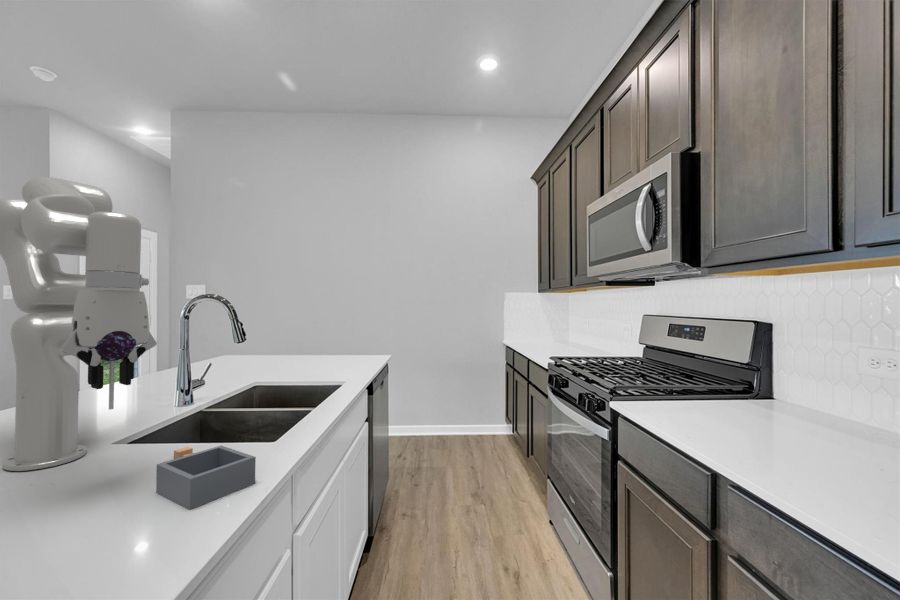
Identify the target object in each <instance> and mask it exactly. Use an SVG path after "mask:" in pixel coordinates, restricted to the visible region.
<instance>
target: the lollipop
mask: <svg viewBox="0 0 900 600" xmlns="http://www.w3.org/2000/svg"><path fill="white" fill-rule="evenodd" d="M134 346H136V347H137V345H136V340H135V339H133V337H132V336H131V335H130V334H129V333H127V332H124V331H114V332H111V333H109V334H107V335H105V336H104V337H103V338H102V340H101V341H98V343H97V346H96V347H94V348H95V349H96V352H97V353H98V354H99V355H100V356H101V358H100V361H105V362H109V374H108V375H109V376H108V377H109V378H108V379H109V380H108V381H109V383H108V410H113V409H114V403H115V400H114V399H115V397H114V396H115V361H119V360H123V358H125V357H126V356H128V355H129V354H130V353H131V352H132V350H133V349H134ZM89 349H92V348H89ZM90 352H91V353H92V350H90Z"/></svg>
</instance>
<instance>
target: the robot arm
mask: <svg viewBox="0 0 900 600" xmlns="http://www.w3.org/2000/svg"><path fill="white" fill-rule="evenodd" d="M21 196H22V198H20V197H0V257H1V258H2V260H3V261H4V264H5V266H6V270H7V275H8V280H9V285H10V288H11V293H12V298H13V300H14V301H13V302H14V304H15V306H16V307H17V308H18V309H19V311H21V312H23V313H26V314H25V315H22V316H20V317H18V318H17V319H16V320H15V321H14V322H13V323H12V325H11V327H10V339H11V344H12V349H13V354H14V361H15V371H16V372H15V374H16V375H15V378H16V379H15V382H16V385H15V415H14V416H15V419H14V420H15V421H14V424H15V425H14V453H13V454H14V455H13V456H12V455H11V456H10V457H8V458H6V459H5V460H4V461H3V462H2V469H3V470H5V471H9V472H12V471H13V472H23V471H25V472H26V471H34V470H40V469H46V468H52V467H55V466H60V465H64V464H67V463H70V462H73V461H75V460H78V459H80V458H81V457H83V456H85V455H86V454H87V451H88V450H87V449H88V448H87V446H86V445H83V444H78V442H79V441H78V436H79V435H78V434H79V433H78V432H79V431H78V430H79V399H80V398H79V397H80V396H79V395H80V394H79V392H80V391H79V390H80V388H79V387H80V376H79V374H78V373H79V372H78V371H77V370H76V368H75V367H74V366H73V365H71V364H70V363H69V362H68V361H67V360H66V359H65V357H67V356H73V357H76V358H77V359H79V360H80V361H81V362H83V363H84V364H85V365H87V383H88V385H90V387H91V388H92V389H95V390H101V389H102V388H104V365H102V364H101V363H102V362H101V359H100V358H101V356H100V355H99V354H98V353H97V352H96V349H95V348H94V347H96V346H97V343H98V341H101V340H102V338H103V337H104V336H105V335H107V334H109V333H111V332H114V331H124V332H127V333H129V334H130V335H131V336H132V337H133V339H135V340H136V346H134V349H133V350H132V352H131V353H130V354H129V355H128V356H126V357H125V358H123V359H122V361H120V362H119V369H118V371H119V373H118V374H119V375H118V382H119V384H120V385H124V386H130V385H131V384H132V380H134V377H135V363H136V362H137V361H138V360H139V358H140V357H141V356H142V355H143V354H144V353H146V352H147V351H149V350H150V349H152V348H154V347H156V346H157V344H158V343H157V341H156V339H155V338H154V336H153V335H152V334H151V332H150V320H149V310H148V304H147V299H146V295H145V292H144V291H141V289H142V287H143V286H148V285H149V283H150V280H149V278H145V277H143V275H142V273H141V253H142V252H141V251H142V250H141V249H142V245H141V244H142V225H141V222H140V220H139V219H138V218H137V217H135V216H133V215H130V214H126V213H121V212H113V207H114V206H113V201H112V198H111V196H110V195H109V194H108V192H106V191H105V190H104V189H103V188H101V187H98V186H95V185H91V184H87V183H86V184H85V183H80V182H77V181H72V180H67V179H62V178H57V177H53V176H51V177H50V176H39V177H35V178H34V177H33V178H31V179H28V181H26V182H25V183H24V184H23V186H22V189H21ZM57 254H58V255H69V256H79V257H80V256H81V257H85V269H84V270H85V273H84V274H77V273H76V274H75V273H66V272H63V271H62V268H61V265H60V261H59V258H58V257H57V256H56V255H57ZM89 348H92V349H89ZM90 350H92V353H91V352H90Z"/></svg>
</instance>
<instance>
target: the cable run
mask: <svg viewBox="0 0 900 600" xmlns="http://www.w3.org/2000/svg"><path fill="white" fill-rule="evenodd" d="M193 450H194V448H193V447H190V446H186V447H182V448H178V449H174V450H173V459H177V458H180V457H183V456H187V455H190V454H194V453H195V452H194V451H193ZM193 452H194V453H193Z"/></svg>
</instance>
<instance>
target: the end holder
mask: <svg viewBox="0 0 900 600" xmlns="http://www.w3.org/2000/svg"><path fill="white" fill-rule="evenodd" d="M155 482H156V483H155V486H156V487H155V488H156V489H155V493H156V494H158V495H161V496H162V497H164V498H166V499H168V500H170V501H172V502H174V503H176V504H177V505H180V506H182V507H183V508H185V509H187V510H189V511H190V510H193V509H195V508H198V507H201V506H202V505H205V504H208V503H211V502H213V501H215V500H218V499H220V498H223V497H226V496H228V495H230V494H232V493H235V492H238V491H240V490H242V489H245V488H247V487H248V488H249V487H250V486H253V485H254V484H256V456H254V455H251V454H248V453H245V452H242V451H239V450H236V449H233V448H230V447H227V446H224V445H219V446H215V447H211V448H209V449H204V450H201V451H197V452H194V454H190V455H187V456H183V457H180V458H177V459H174V458H173V459H170V460H167V461H163V462H161V463H157V464H156V481H155Z"/></svg>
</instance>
